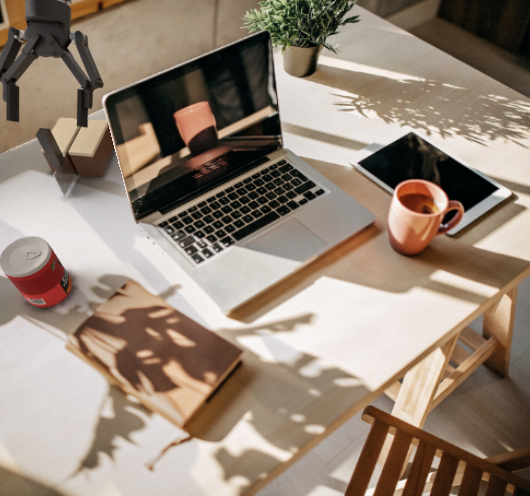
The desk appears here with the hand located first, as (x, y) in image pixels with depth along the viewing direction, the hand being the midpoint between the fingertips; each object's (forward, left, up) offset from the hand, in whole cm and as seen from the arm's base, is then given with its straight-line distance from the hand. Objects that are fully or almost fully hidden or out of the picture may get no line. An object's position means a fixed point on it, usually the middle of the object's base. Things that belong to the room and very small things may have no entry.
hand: (47, 124), depth 91 cm
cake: (-3, +6, -15) cm, 16 cm away
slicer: (+1, -2, -14) cm, 14 cm away
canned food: (+18, -20, -15) cm, 31 cm away
